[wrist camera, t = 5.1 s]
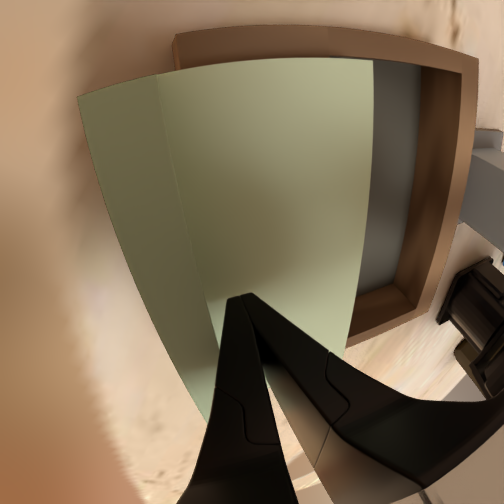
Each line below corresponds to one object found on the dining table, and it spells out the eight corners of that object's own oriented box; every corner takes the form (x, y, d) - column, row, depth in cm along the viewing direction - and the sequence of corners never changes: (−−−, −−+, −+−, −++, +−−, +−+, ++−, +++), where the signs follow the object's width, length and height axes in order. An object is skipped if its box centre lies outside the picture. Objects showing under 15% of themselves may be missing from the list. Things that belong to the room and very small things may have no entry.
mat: (483, 211, 19) (486, 214, 19) (431, 228, 18) (435, 231, 18) (499, 130, 15) (503, 132, 15) (447, 128, 14) (452, 129, 14)
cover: (333, 348, 16) (359, 391, 13) (203, 388, 14) (216, 439, 12) (353, 59, 8) (422, 66, 5) (105, 88, 6) (76, 96, 4)
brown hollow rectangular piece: (403, 285, 20) (427, 311, 18) (230, 343, 18) (243, 383, 16) (434, 51, 11) (478, 58, 9) (171, 44, 9) (175, 34, 6)
